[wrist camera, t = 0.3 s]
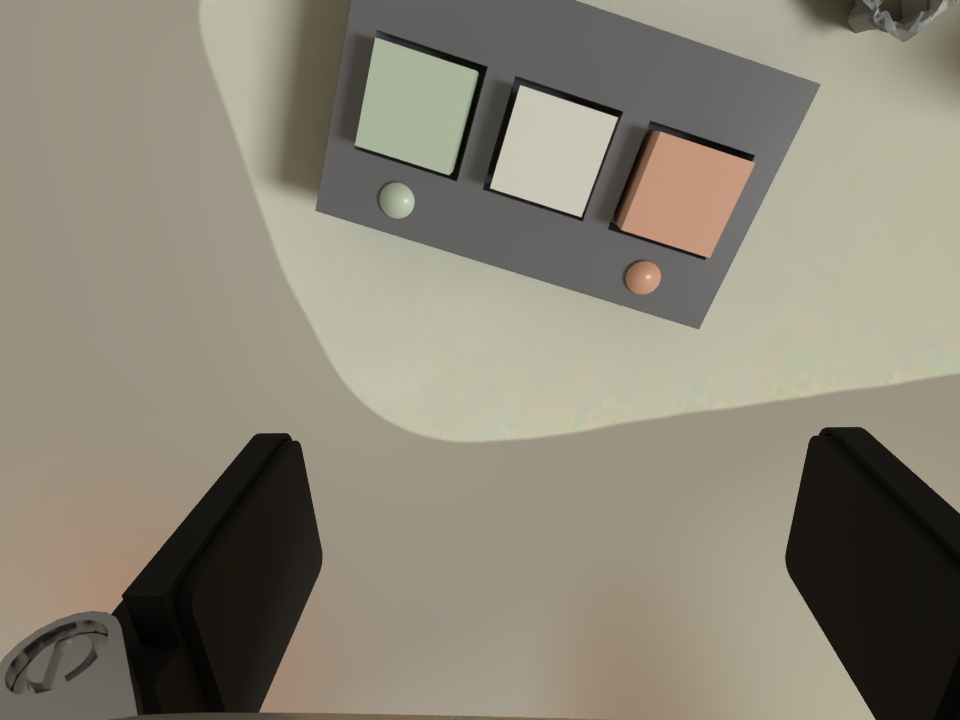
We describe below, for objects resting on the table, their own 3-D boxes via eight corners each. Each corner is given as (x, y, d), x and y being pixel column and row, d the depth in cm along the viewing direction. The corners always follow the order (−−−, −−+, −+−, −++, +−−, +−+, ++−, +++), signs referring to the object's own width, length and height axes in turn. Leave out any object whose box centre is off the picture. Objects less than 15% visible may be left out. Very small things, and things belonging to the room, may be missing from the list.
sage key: (388, 43, 30) (375, 37, 28) (480, 74, 31) (476, 70, 28) (368, 142, 33) (354, 145, 30) (454, 169, 33) (449, 175, 30)
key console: (383, -49, 31) (362, -74, 27) (782, 87, 33) (822, 84, 28) (338, 199, 37) (314, 211, 33) (679, 305, 38) (699, 330, 34)
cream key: (520, 87, 31) (520, 85, 28) (609, 116, 31) (618, 117, 28) (492, 181, 33) (490, 188, 30) (576, 208, 33) (581, 217, 31)
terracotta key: (648, 129, 31) (660, 131, 29) (735, 158, 32) (755, 162, 29) (612, 219, 33) (621, 230, 31) (694, 246, 34) (709, 258, 31)
